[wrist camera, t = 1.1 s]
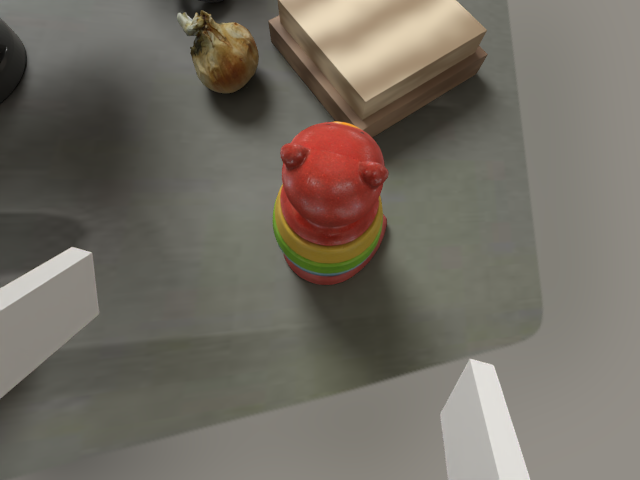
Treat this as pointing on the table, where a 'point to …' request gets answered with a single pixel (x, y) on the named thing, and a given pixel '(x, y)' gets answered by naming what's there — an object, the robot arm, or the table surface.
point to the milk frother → (211, 0)
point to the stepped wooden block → (378, 54)
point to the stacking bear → (330, 202)
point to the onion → (220, 52)
